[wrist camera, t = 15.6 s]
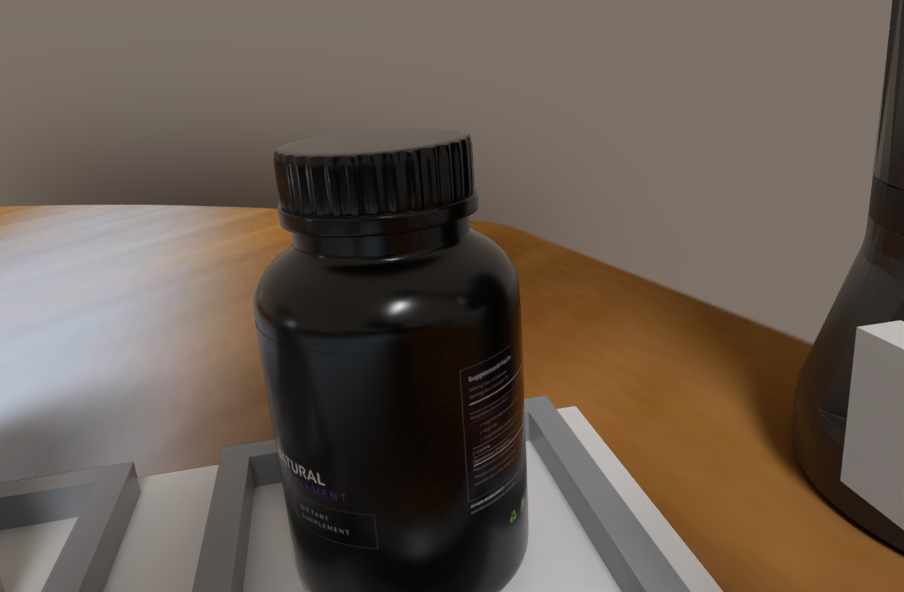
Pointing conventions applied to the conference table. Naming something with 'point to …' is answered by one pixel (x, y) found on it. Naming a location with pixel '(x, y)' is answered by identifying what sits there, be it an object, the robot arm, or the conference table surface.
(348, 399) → the supplement bottle
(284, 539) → the pallet
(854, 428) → the robot arm
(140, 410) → the conference table surface
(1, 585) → the cylinder
